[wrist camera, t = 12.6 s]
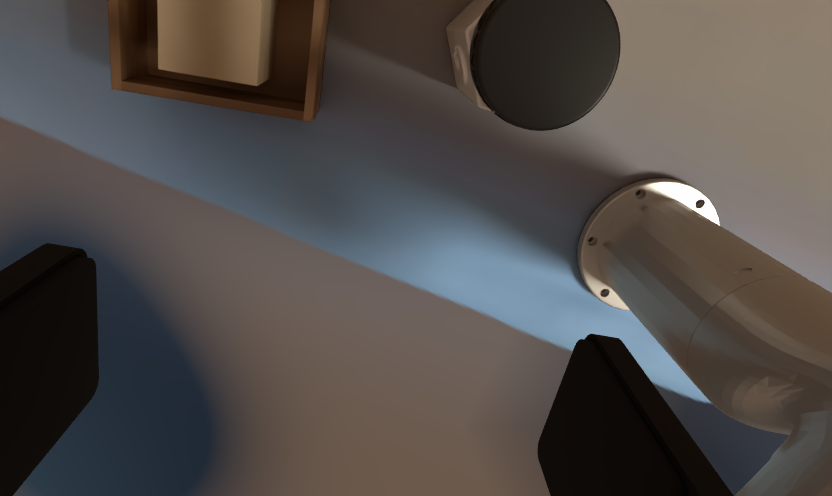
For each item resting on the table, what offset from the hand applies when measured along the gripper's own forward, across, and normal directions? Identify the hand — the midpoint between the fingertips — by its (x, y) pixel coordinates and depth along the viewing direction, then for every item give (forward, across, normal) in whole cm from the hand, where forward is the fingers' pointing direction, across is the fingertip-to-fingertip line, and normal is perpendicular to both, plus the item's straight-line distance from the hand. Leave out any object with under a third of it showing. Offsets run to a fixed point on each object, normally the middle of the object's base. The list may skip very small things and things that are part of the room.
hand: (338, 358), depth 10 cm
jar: (+34, -8, -6) cm, 35 cm away
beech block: (+32, +11, -4) cm, 35 cm away
